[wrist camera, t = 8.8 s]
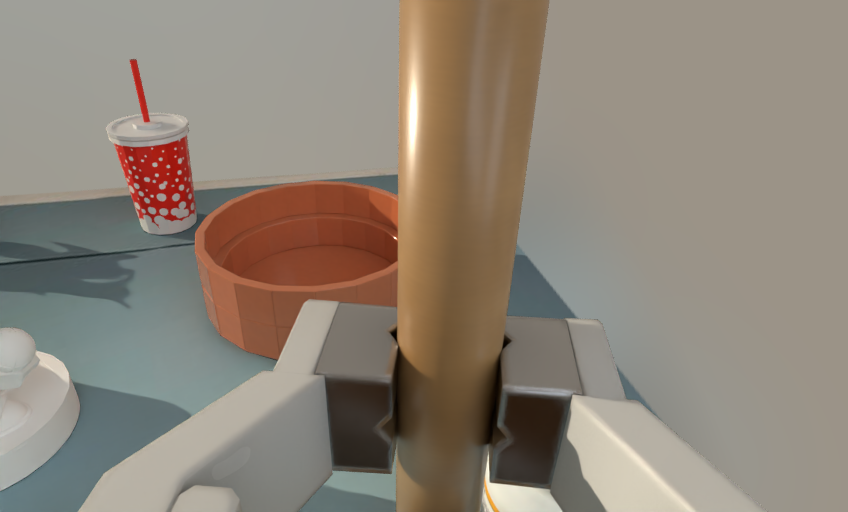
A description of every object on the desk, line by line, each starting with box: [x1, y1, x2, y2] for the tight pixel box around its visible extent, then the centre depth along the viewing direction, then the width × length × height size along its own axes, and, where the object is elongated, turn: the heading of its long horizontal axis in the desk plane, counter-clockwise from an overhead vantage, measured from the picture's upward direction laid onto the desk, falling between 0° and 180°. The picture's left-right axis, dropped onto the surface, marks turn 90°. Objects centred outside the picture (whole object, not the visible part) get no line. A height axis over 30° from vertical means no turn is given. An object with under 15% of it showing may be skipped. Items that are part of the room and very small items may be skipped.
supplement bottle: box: [480, 453, 563, 512], centre depth 22 cm, size 5×5×10 cm
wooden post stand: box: [396, 0, 549, 512], centre depth 8 cm, size 5×5×18 cm
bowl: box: [195, 181, 398, 360], centre depth 39 cm, size 15×15×6 cm
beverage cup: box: [106, 59, 197, 235], centre depth 46 cm, size 6×6×14 cm
